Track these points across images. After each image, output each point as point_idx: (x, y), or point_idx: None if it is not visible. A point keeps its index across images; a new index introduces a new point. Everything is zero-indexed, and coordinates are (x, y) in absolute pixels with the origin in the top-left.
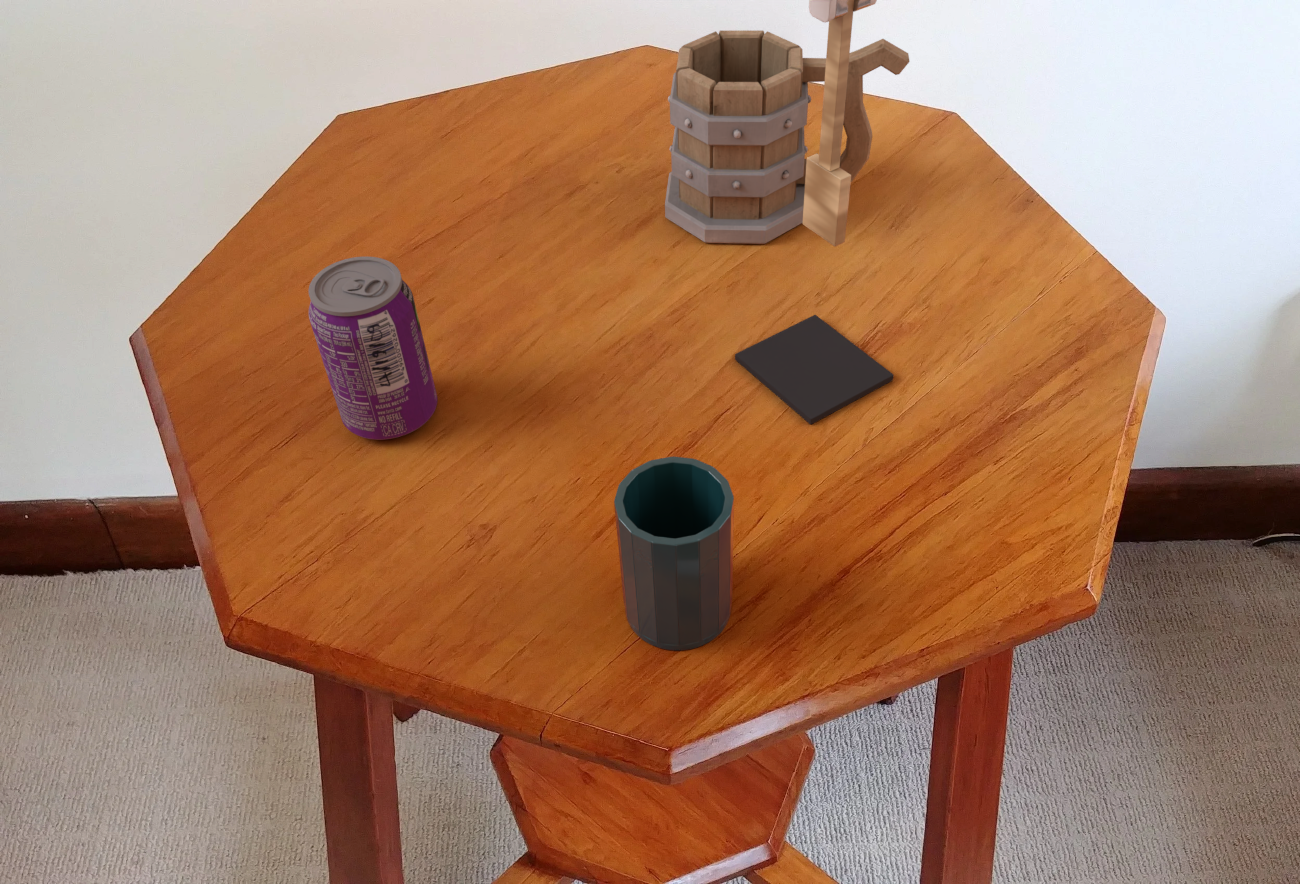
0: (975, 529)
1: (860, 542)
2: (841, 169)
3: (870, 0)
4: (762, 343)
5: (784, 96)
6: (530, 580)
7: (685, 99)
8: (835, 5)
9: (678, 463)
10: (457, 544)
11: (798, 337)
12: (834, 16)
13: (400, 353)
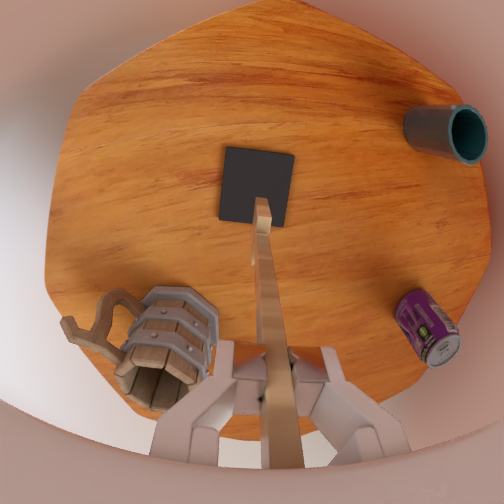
0: (289, 45)
1: (340, 82)
2: (256, 229)
3: (233, 346)
4: None
5: (149, 351)
6: (446, 189)
7: None
8: (327, 362)
9: (455, 148)
10: (448, 226)
11: (243, 211)
12: (322, 348)
13: (438, 315)
